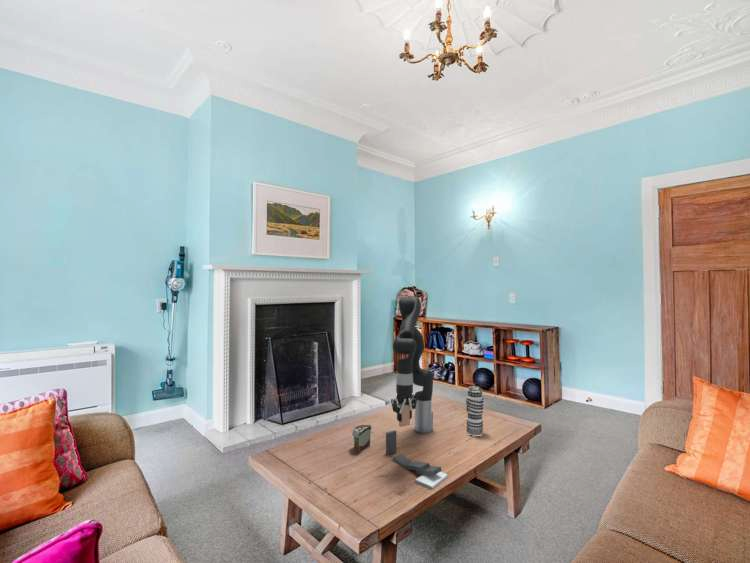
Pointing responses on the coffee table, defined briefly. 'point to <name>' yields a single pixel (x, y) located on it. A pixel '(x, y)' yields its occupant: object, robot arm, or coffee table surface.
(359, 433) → the food container
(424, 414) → the robot arm
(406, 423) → the domino
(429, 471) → the domino
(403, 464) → the domino
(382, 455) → the coffee table surface
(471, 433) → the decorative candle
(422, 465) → the domino
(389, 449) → the domino
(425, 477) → the external hard drive
